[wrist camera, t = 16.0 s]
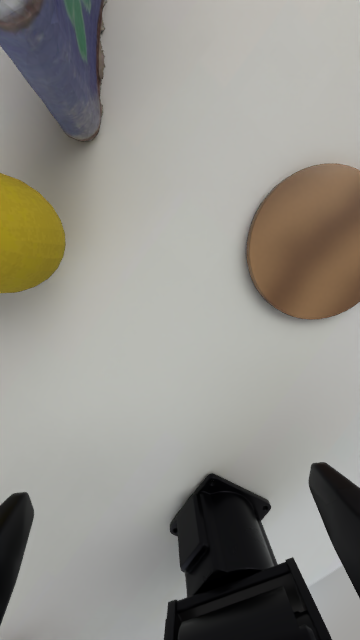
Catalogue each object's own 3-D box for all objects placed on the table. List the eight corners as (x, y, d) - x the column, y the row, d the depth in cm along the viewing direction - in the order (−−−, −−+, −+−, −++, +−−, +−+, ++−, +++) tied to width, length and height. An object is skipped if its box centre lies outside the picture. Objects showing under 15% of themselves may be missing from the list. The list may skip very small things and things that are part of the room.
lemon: (31, 170, 16) (-84, 97, 8) (99, 243, 17) (54, 237, 10) (-31, 235, 17) (-191, 221, 9) (40, 300, 18) (-47, 337, 10)
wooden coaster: (415, 224, 19) (423, 223, 18) (325, 342, 20) (330, 344, 20) (308, 131, 17) (313, 126, 16) (217, 269, 18) (219, 270, 18)
